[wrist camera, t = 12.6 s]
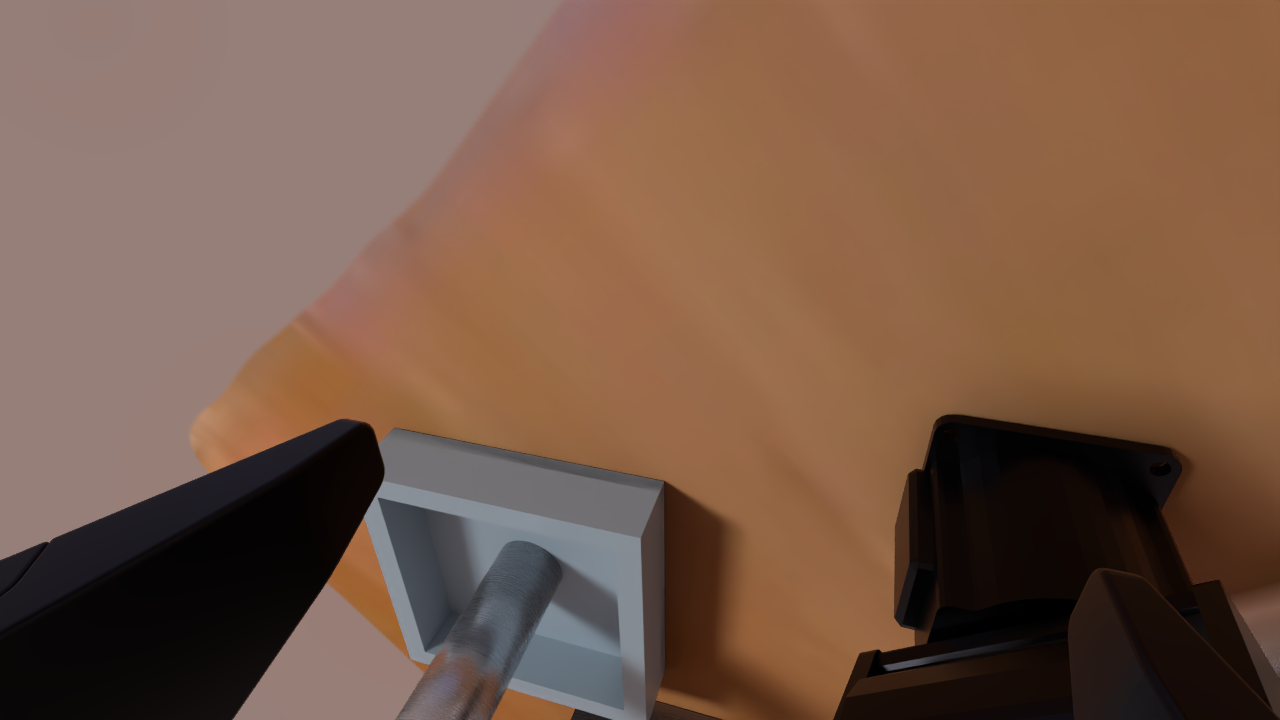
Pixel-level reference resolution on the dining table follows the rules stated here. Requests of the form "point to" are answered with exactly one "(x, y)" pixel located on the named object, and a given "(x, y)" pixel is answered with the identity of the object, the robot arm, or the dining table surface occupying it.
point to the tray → (551, 518)
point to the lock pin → (487, 638)
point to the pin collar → (662, 716)
